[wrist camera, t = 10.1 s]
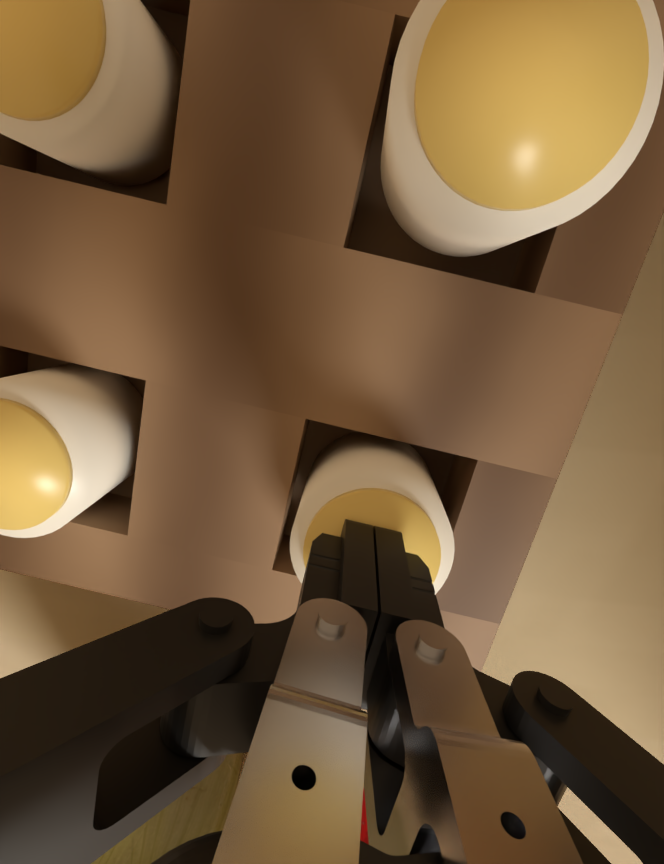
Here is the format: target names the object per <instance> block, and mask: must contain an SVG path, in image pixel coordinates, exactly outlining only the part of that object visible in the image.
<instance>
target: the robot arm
mask: <svg viewBox="0 0 664 864" xmlns="http://www.w3.org/2000/svg"><path fill="white" fill-rule="evenodd" d="M361 709H366V710H367V713H366V712H365V711H361ZM246 752H248V755H247V758H246V761H245V764H244V767H243V770H242V773H241V776H240V779H239V782H238V786H237V789H236V792H235V795H234V798H233V801H232V804H231V807H230V810H229V813H228V816H227V819H226V822H225V825H224V828H223V830H222V831H217V832H213V833H209V834H205V835H203V836H200V837H197V838H195V839H192V840H189V841H187V842H185V843H183V844H181V845H179V846H177V847H176V848H174V849H172V850H170V851H168V852H167V853H165V854H164V855H162V856H161V857H160V858H158V859H157V860H155V861H154V862H152V863H151V864H611V863H610V862H609V861H608V860H607V859H606V858H605V857H604V856H603V855H602V853H601V852H600V851H599V850H598V849H597V848H596V847H595V846H594V845H593V844H592V843H591V842H590V841H589V840H588V839H587V838H586V837H585V836H584V835H583V834H582V833H581V832H580V830H579V829H578V828H577V827H576V826H575V825H574V824H573V823H572V822H571V821H570V820H569V819H568V818H567V817H566V816H565V815H564V814H563V813H562V812H561V811H560V810H559V809H558V807H557V806H558V804H559V802H560V800H561V798H562V796H563V794H564V792H565V790H566V788H567V787H568V788H569V789H570V790H571V791H572V792H573V793H574V794H575V795H576V796H577V797H578V798H579V799H580V800H581V801H582V802H583V803H584V804H585V805H586V806H587V807H588V808H589V809H590V810H591V811H593V812H594V813H595V814H596V815H597V816H598V817H599V818H600V819H601V820H602V821H603V822H604V823H605V824H606V825H607V826H608V827H609V828H610V829H611V830H612V831H613V832H614V833H615V834H616V835H617V836H618V837H619V838H620V839H621V840H622V841H623V842H624V843H625V844H626V845H627V846H628V847H629V848H630V849H631V850H632V851H633V852H634V853H635V854H636V855H637V856H638V858H639V859H640V860H641V861H642V863H643V864H664V765H663V764H662V763H661V762H660V761H658V760H657V759H656V758H655V757H654V756H652V755H651V754H650V753H649V752H647V751H646V750H645V749H644V748H643V747H641V746H640V745H639V744H638V743H636V742H635V741H634V740H633V739H632V738H630V737H629V736H628V735H627V734H625V733H624V732H623V731H622V730H621V729H619V728H618V727H617V726H616V725H614V724H613V723H612V722H611V721H610V720H608V719H607V718H606V717H605V716H603V715H602V714H601V713H600V712H599V711H597V710H596V709H595V708H594V707H592V706H591V705H590V704H589V703H588V702H586V701H585V700H584V699H583V698H581V697H580V696H579V695H578V694H577V693H575V692H574V691H573V690H572V689H570V688H569V687H568V686H566V685H565V684H563V683H562V682H560V681H558V680H557V679H555V678H553V677H551V676H548V675H546V674H543V673H540V672H535V671H523V672H520V673H518V674H517V675H516V676H515V677H514V679H513V681H512V683H511V686H509V685H507V684H505V683H503V682H501V681H499V680H496V679H494V678H492V677H490V676H488V675H486V674H484V673H482V672H480V671H478V670H477V669H475V668H473V667H472V665H471V663H470V660H469V658H468V655H467V653H466V650H465V648H464V647H463V645H462V644H461V642H460V641H459V640H458V639H457V638H456V637H455V636H454V635H453V634H452V633H450V632H449V631H448V630H446V629H445V627H444V624H443V620H442V616H441V612H440V609H439V605H438V601H437V597H436V595H435V590H434V586H433V584H432V578H431V574H430V571H429V568H428V566H427V565H426V564H425V563H424V562H423V560H422V559H421V558H420V557H419V556H418V555H416V554H411V553H407V552H405V547H404V541H403V536H402V532H399V531H395V530H391V529H387V528H382V527H378V526H372V525H369V524H365V523H361V522H356V521H352V520H348V519H345V521H344V524H343V528H342V532H341V536H340V537H338V536H334V535H330V534H325V533H322V534H320V535H319V536H318V537H317V538H316V539H314V540H313V541H312V545H311V549H310V553H309V558H308V562H307V566H306V570H305V574H304V578H303V582H302V586H301V591H300V595H299V600H298V606H297V610H296V612H295V613H294V614H293V615H292V616H291V617H289V618H287V619H285V620H282V621H279V622H274V623H258V624H255V623H254V619H253V617H252V615H251V614H250V612H249V611H248V610H247V609H246V608H245V607H243V606H242V605H240V604H239V603H237V602H234V601H232V600H229V599H225V598H218V597H209V598H202V599H198V600H195V601H192V602H189V603H187V604H184V605H182V606H179V607H177V608H174V609H172V610H169V611H167V612H164V613H162V614H160V615H157V616H155V617H152V618H150V619H147V620H145V621H142V622H140V623H137V624H135V625H132V626H130V627H127V628H125V629H122V630H120V631H117V632H115V633H112V634H110V635H107V636H105V637H102V638H100V639H97V640H95V641H92V642H90V643H87V644H85V645H83V646H80V647H78V648H75V649H73V650H70V651H68V652H65V653H63V654H60V655H58V656H55V657H53V658H50V659H48V660H45V661H43V662H40V663H38V664H35V665H33V666H30V667H28V668H25V669H23V670H20V671H18V672H15V673H13V674H10V675H8V676H6V677H3V678H1V679H0V864H91V863H92V862H94V861H95V860H96V859H98V858H99V857H100V856H102V855H103V854H104V853H106V852H107V851H108V850H110V849H111V848H112V847H114V846H115V845H116V844H118V843H119V842H120V841H122V840H123V839H124V838H126V837H127V836H128V835H130V834H131V833H132V832H134V831H135V830H136V829H138V828H139V827H140V826H142V825H143V824H144V823H146V822H147V821H148V820H150V819H151V818H152V817H153V816H155V815H156V814H157V813H159V812H160V811H161V810H163V809H164V808H165V807H167V806H168V805H169V804H171V803H172V802H173V801H175V800H176V799H177V798H179V797H180V796H181V795H183V794H184V793H185V792H187V791H188V790H189V789H191V788H192V787H193V786H195V785H196V784H197V783H199V782H200V781H201V780H203V779H204V778H205V777H207V776H208V775H209V774H211V773H212V772H213V771H214V770H216V769H217V768H218V767H219V766H220V765H221V764H222V762H223V761H224V759H225V758H226V756H227V755H228V754H237V753H246ZM363 786H364V792H365V805H366V817H367V829H368V841H369V844H367V843H365V842H363V841H361V840H360V833H361V817H362V802H363Z"/></svg>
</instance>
